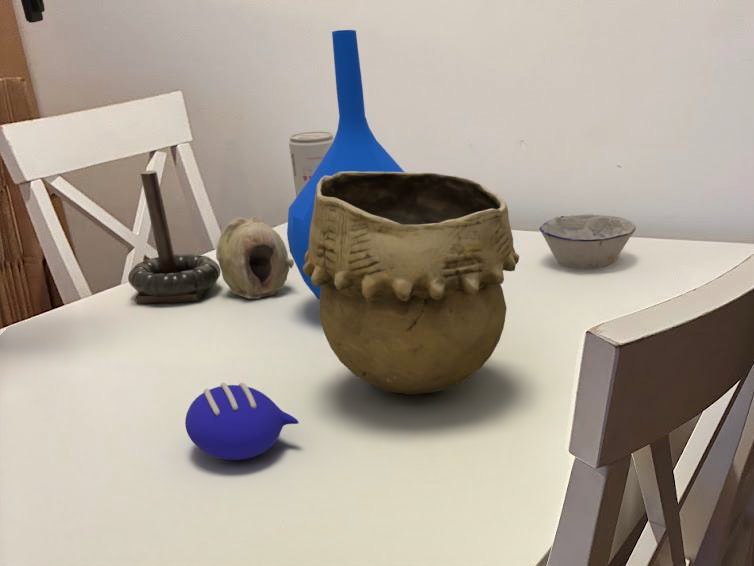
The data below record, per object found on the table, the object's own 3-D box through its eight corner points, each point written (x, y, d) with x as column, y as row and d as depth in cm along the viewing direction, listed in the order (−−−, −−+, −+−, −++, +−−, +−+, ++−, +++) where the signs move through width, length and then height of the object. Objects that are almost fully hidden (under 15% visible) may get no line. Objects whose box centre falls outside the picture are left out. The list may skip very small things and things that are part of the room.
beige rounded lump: (230, 313, 132) (190, 241, 127) (268, 285, 137) (231, 214, 132) (276, 301, 126) (236, 225, 121) (315, 272, 131) (278, 198, 126)
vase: (441, 328, 117) (425, 36, 100) (288, 333, 118) (244, 43, 100) (444, 281, 132) (430, 20, 115) (308, 286, 132) (273, 26, 115)
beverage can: (304, 240, 152) (290, 132, 143) (347, 238, 152) (335, 130, 143) (301, 252, 146) (286, 140, 138) (345, 249, 147) (333, 138, 138)
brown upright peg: (136, 304, 129) (107, 180, 120) (151, 285, 136) (125, 166, 127) (197, 301, 129) (172, 177, 120) (209, 283, 135) (187, 164, 127)
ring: (122, 301, 127) (116, 279, 125) (144, 274, 136) (139, 253, 135) (211, 297, 127) (207, 275, 125) (228, 271, 136) (224, 250, 135)
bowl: (522, 266, 136) (522, 229, 133) (568, 244, 145) (568, 209, 142) (605, 279, 130) (607, 241, 127) (648, 255, 139) (651, 218, 136)
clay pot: (519, 347, 111) (517, 154, 99) (521, 427, 94) (519, 204, 82) (335, 352, 112) (312, 160, 100) (304, 432, 95) (272, 212, 83)
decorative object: (288, 393, 85) (174, 423, 85) (307, 454, 89) (197, 484, 88) (280, 356, 94) (177, 383, 93) (298, 413, 97) (198, 439, 96)
